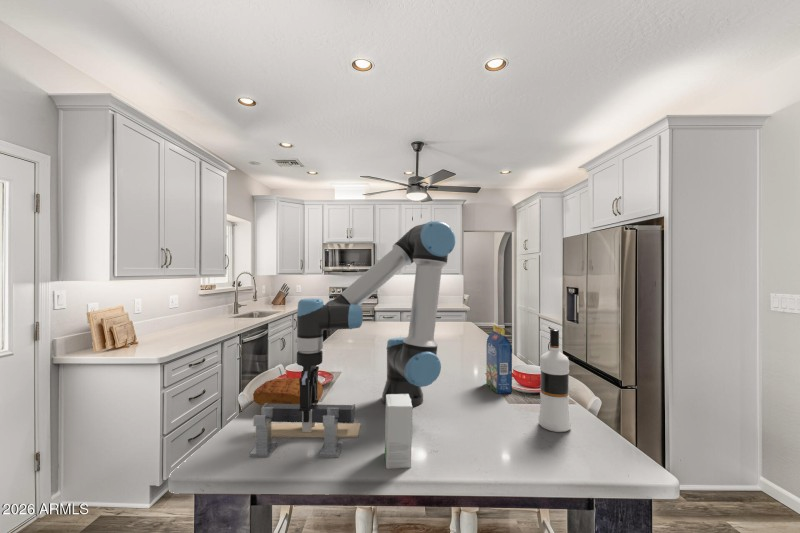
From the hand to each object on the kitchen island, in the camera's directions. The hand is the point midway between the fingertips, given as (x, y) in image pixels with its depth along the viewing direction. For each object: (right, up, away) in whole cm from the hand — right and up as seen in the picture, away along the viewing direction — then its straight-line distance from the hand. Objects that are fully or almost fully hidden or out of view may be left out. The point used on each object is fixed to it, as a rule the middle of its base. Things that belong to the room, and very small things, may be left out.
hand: (308, 428), depth 108 cm
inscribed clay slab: (-12, -1, +20) cm, 23 cm away
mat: (0, -1, 0) cm, 1 cm away
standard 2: (+9, -1, -12) cm, 15 cm away
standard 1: (-9, -1, -12) cm, 15 cm away
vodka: (+75, -1, +3) cm, 75 cm away
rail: (0, +3, 0) cm, 3 cm away
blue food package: (+67, -1, +38) cm, 78 cm away
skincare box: (+27, -1, -16) cm, 31 cm away
